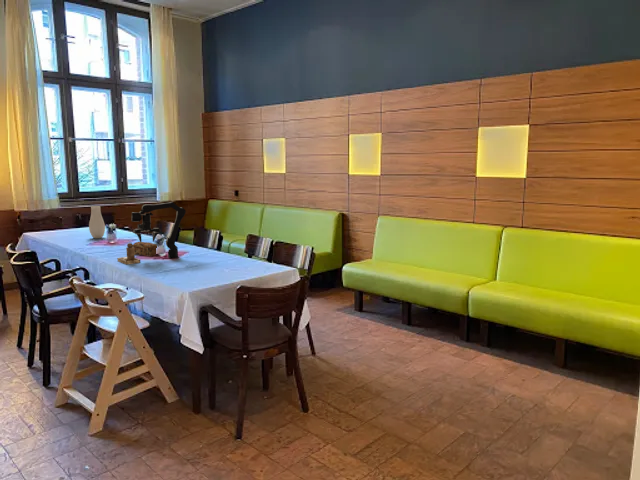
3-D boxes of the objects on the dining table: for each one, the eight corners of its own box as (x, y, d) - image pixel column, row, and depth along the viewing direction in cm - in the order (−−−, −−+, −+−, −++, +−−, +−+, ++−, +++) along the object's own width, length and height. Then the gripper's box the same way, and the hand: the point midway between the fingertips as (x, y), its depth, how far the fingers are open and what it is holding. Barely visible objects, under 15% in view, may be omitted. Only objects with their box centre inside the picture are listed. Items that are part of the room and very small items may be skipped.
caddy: (131, 259, 361) (130, 256, 360) (140, 263, 349) (140, 259, 349) (117, 261, 354) (117, 258, 353) (126, 265, 342) (126, 261, 342)
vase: (106, 238, 457) (104, 206, 452) (90, 239, 450) (88, 207, 445) (104, 236, 469) (102, 205, 464) (89, 237, 462) (86, 206, 457)
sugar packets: (128, 260, 357) (128, 257, 356) (130, 260, 355) (130, 257, 354) (122, 261, 354) (122, 257, 353) (124, 261, 352) (124, 258, 351)
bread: (132, 254, 381) (131, 242, 379) (142, 252, 390) (141, 240, 388) (150, 257, 373) (149, 244, 371) (160, 254, 382) (159, 242, 381)
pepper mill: (135, 261, 352) (134, 242, 349) (134, 263, 347) (132, 243, 344) (128, 261, 351) (126, 242, 348) (126, 263, 346) (125, 243, 343)
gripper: (155, 219, 371) (155, 239, 373) (130, 220, 359) (130, 241, 362) (160, 221, 362) (160, 241, 365) (135, 222, 351) (135, 243, 353)
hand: (147, 242), depth 361 cm, fingers open, 9 cm apart
